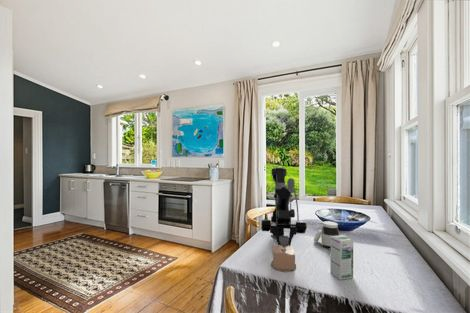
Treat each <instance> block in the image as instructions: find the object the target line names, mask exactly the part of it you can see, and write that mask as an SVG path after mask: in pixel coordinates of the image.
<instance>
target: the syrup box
mask: <svg viewBox="0 0 470 313" xmlns="http://www.w3.org/2000/svg"><path fill="white" fill-rule="evenodd" d="M329 260H330V262H329V264H330V266H329V267H330V271H329V272H330V274H332V275H333V276H334V277H336V278H337V279H338V280H340V281H342V280H349V279H353V278H354V239H352V238H351V237H349V236H347V235H344V234H341V235H340V234H339V236H331V249H330V259H329Z"/></svg>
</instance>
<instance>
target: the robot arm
mask: <svg viewBox="0 0 470 313" xmlns="http://www.w3.org/2000/svg"><path fill="white" fill-rule="evenodd" d="M270 172H271V174H270V175H271V177H272V181H273V183H274V185H275V186H274V190H273V198H274V201H275V202H274V203H275V204H274V210H273V211H272V215H271V218H270V219H261V221H260V222H261V223H260V224H261V225H260V226H261V231H262V232H269V233H270V236H271V237H272V238H273V239H274V240H275V242H276V244H277V246H280V245H279V236H285V229H288V230H289V232H288V233H289V235H288V237H289V246H288V247H291V244H292V240H293V237H294V236H296V235H297V234H306V231H307V227H308V226H307V222H306V221H301V220H300V221H297V220H296V222H295V224H293V223H292V218H295V217H296V215H295V214H296V212H295V209H292V208H291V209H290V198H291V199H292V197H293V193H292V194H291V193H290V191H289V190H288V186H287V184H286V177H287V175H288V174H287V169H286V168H285V167H277V166H276V167H273V168H271V171H270ZM290 217H291V219H290ZM290 222H291V224H290Z"/></svg>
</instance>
